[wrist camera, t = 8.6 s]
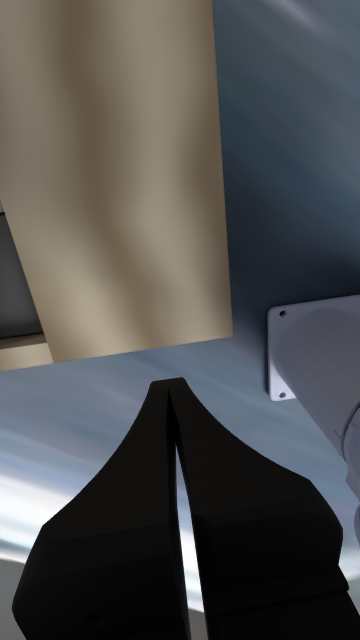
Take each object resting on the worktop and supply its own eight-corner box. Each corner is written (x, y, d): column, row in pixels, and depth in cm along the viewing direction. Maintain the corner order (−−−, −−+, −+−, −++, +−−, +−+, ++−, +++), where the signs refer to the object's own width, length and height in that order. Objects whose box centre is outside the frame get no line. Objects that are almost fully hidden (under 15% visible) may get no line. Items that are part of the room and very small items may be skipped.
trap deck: (184, -263, 12) (189, -355, 10) (226, 325, 21) (233, 336, 19) (-384, -214, 11) (-496, -303, 9) (-78, 370, 20) (-101, 386, 18)
